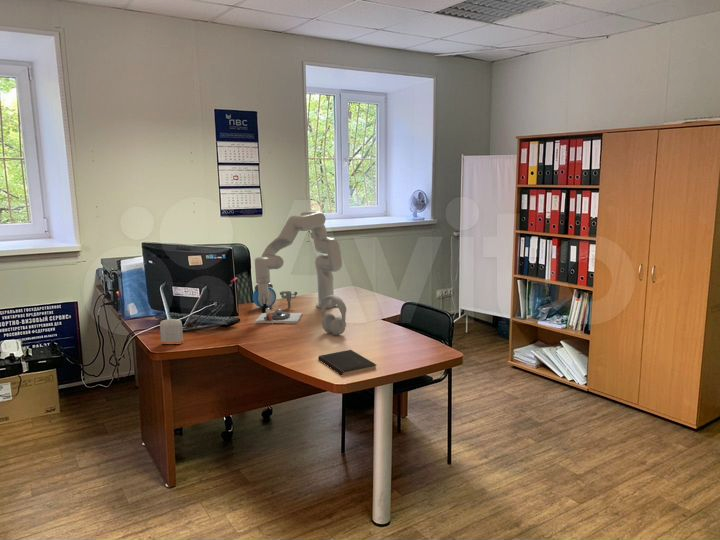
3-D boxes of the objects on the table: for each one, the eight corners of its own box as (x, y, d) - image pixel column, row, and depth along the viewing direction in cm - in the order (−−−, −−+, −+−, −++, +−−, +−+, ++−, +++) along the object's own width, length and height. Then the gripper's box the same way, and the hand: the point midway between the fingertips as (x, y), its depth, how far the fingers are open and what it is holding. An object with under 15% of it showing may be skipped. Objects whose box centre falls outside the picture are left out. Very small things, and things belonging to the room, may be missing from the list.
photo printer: (184, 342, 268) (182, 317, 266) (182, 345, 264) (180, 319, 262) (162, 343, 268) (160, 318, 266) (160, 345, 264) (158, 320, 261)
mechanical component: (297, 308, 331) (296, 292, 330) (280, 308, 332) (279, 292, 330) (298, 307, 334) (297, 291, 333) (281, 307, 335) (280, 291, 333)
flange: (281, 312, 314) (280, 302, 313) (294, 316, 306) (294, 305, 305) (259, 317, 304) (258, 307, 303) (272, 321, 296) (271, 310, 294)
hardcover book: (351, 354, 247) (350, 349, 246) (376, 370, 227) (376, 364, 226) (318, 360, 239) (318, 355, 239) (342, 377, 219) (341, 372, 219)
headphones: (351, 336, 272) (350, 296, 268) (338, 339, 267) (337, 299, 264) (329, 329, 286) (328, 291, 282) (317, 331, 281) (315, 293, 278)
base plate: (302, 315, 314) (301, 307, 314) (297, 323, 298) (297, 315, 297) (262, 315, 315) (261, 308, 315) (255, 324, 299) (255, 315, 298)
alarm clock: (257, 310, 328) (255, 285, 326) (252, 308, 333) (251, 284, 331) (277, 307, 336) (275, 282, 333) (272, 305, 341) (271, 281, 338)
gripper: (256, 277, 306) (258, 309, 310) (255, 283, 292) (258, 316, 295) (269, 276, 308) (271, 308, 311) (270, 282, 293) (272, 315, 297)
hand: (265, 312), depth 303 cm, fingers closed
